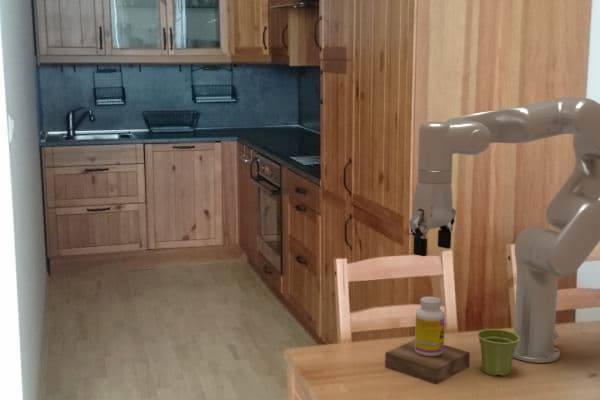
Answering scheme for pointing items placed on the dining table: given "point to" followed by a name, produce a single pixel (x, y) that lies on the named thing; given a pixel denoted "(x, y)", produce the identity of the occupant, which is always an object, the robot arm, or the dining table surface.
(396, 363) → the brown wooden square slab
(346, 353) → the dining table surface
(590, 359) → the dining table surface
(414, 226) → the robot arm
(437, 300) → the supplement bottle
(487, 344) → the plant pot
